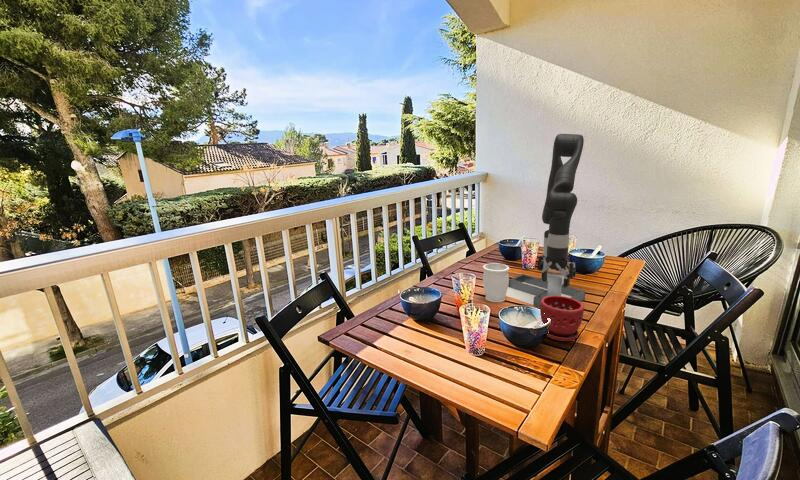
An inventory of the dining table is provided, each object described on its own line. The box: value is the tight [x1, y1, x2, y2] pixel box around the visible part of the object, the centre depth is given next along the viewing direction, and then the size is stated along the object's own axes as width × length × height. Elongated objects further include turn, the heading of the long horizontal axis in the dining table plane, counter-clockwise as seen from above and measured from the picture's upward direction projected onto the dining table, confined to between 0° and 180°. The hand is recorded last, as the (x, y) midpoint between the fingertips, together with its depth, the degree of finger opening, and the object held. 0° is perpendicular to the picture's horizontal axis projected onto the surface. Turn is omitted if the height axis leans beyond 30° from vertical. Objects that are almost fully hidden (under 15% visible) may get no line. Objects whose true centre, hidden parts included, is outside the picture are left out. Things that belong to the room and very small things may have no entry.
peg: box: [547, 275, 563, 303], centre depth 135 cm, size 5×5×12 cm
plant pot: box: [539, 296, 585, 342], centre depth 116 cm, size 13×13×12 cm
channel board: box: [505, 282, 584, 308], centre depth 146 cm, size 20×29×1 cm
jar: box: [482, 262, 510, 303], centre depth 144 cm, size 11×10×15 cm
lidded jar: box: [544, 266, 569, 285], centre depth 159 cm, size 11×11×9 cm
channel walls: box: [508, 273, 586, 310], centre depth 146 cm, size 20×29×4 cm
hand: (554, 283), depth 135 cm, fingers open, 8 cm apart
